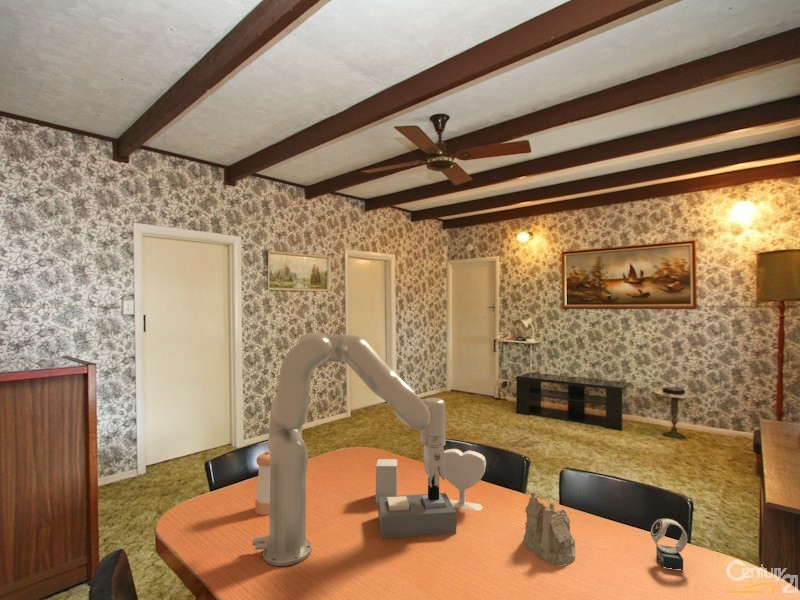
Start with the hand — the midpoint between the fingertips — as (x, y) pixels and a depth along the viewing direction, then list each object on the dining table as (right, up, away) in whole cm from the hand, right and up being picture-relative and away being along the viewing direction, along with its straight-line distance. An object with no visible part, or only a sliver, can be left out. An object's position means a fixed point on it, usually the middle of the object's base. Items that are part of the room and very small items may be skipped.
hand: (433, 498), depth 128 cm
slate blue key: (0, -5, 0) cm, 5 cm away
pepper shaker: (-54, -8, +8) cm, 56 cm away
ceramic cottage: (+33, -8, -13) cm, 36 cm away
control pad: (-6, -8, -1) cm, 9 cm away
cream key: (-11, -5, -2) cm, 12 cm away
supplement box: (-15, -8, +17) cm, 24 cm away
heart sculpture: (+11, -8, +12) cm, 18 cm away
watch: (+60, -7, -20) cm, 63 cm away
